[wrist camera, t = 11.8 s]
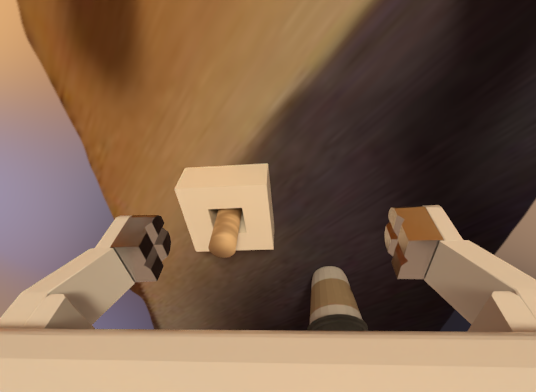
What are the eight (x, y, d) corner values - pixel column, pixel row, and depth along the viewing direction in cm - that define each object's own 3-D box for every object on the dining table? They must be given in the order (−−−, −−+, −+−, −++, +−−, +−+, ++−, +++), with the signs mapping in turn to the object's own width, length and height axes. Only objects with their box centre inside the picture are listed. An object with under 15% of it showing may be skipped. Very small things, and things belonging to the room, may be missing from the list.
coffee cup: (352, 290, 68) (367, 358, 56) (303, 292, 69) (308, 358, 57) (356, 258, 61) (375, 327, 49) (302, 260, 62) (307, 328, 50)
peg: (242, 189, 51) (233, 238, 41) (245, 206, 53) (237, 257, 44) (219, 190, 51) (205, 239, 42) (223, 207, 54) (211, 258, 44)
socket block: (268, 163, 48) (266, 184, 43) (274, 225, 56) (273, 249, 51) (184, 167, 49) (174, 188, 44) (203, 228, 57) (196, 251, 52)
